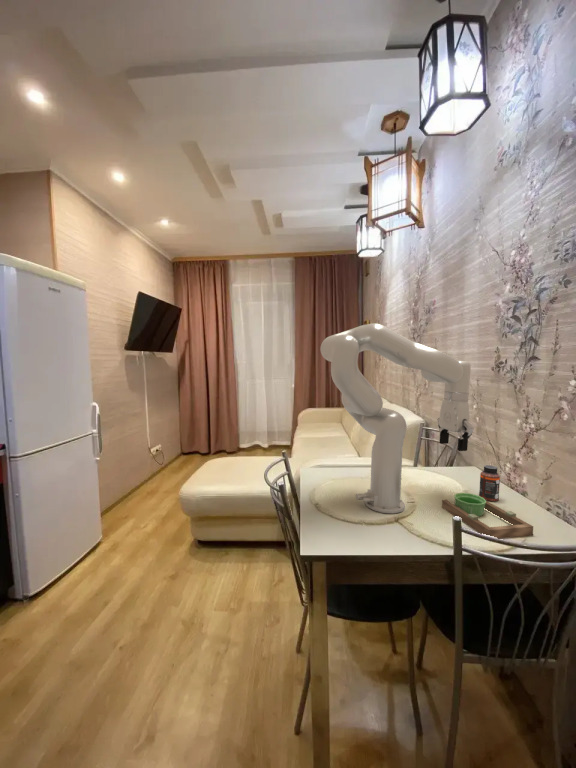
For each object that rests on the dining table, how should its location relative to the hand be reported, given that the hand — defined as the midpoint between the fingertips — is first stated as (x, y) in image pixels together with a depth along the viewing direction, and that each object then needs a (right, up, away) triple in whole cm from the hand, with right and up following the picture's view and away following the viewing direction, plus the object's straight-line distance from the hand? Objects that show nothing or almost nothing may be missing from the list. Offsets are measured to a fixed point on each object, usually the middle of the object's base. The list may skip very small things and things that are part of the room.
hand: (452, 446), depth 121 cm
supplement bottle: (+14, -19, +2) cm, 23 cm away
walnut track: (+2, -19, -14) cm, 24 cm away
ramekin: (+1, -19, -8) cm, 21 cm away
